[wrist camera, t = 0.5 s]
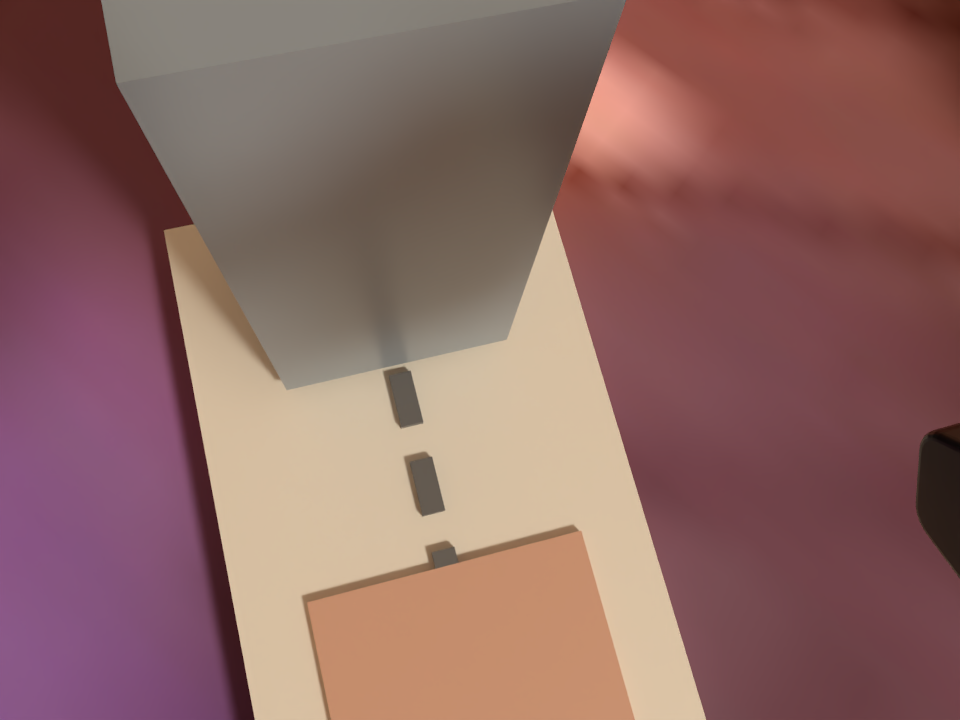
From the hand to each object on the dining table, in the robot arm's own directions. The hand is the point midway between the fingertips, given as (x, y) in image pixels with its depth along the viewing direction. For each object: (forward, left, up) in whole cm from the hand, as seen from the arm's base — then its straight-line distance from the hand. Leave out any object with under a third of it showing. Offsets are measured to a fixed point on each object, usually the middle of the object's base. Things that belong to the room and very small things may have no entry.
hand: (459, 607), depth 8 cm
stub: (+6, -5, -11) cm, 14 cm away
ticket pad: (-1, 0, -13) cm, 13 cm away
